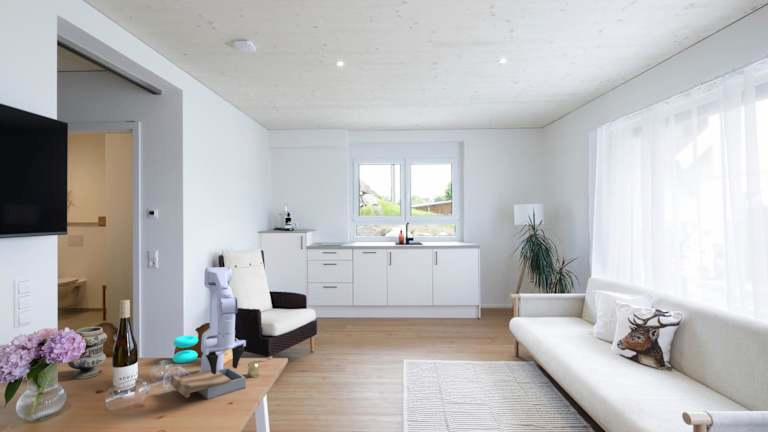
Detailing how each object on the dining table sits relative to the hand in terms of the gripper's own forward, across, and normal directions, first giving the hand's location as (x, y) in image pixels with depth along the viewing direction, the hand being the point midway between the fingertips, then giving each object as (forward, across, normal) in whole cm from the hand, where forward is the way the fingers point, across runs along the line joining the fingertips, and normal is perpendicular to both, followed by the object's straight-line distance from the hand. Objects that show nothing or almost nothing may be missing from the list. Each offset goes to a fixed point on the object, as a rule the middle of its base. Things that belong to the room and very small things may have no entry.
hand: (224, 370), depth 134 cm
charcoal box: (+10, +3, +10) cm, 14 cm away
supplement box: (+10, +17, +36) cm, 41 cm away
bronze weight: (+10, +18, +12) cm, 24 cm away
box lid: (+7, -4, +10) cm, 13 cm away
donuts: (+10, +5, +49) cm, 50 cm away
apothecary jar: (+10, -28, +58) cm, 66 cm away
